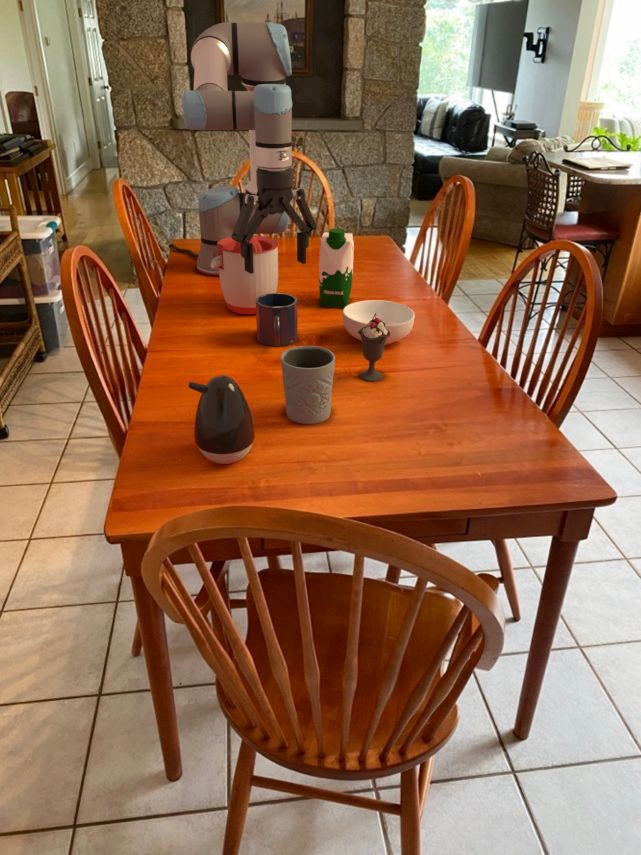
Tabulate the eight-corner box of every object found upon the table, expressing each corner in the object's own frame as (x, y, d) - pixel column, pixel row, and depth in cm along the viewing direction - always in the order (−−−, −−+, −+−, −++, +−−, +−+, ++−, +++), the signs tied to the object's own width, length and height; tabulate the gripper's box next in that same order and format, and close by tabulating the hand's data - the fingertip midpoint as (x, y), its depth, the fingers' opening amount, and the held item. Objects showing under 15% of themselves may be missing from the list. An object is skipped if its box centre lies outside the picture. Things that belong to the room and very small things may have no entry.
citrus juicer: (209, 301, 179) (203, 225, 169) (271, 294, 184) (269, 221, 173) (220, 322, 166) (214, 242, 156) (286, 315, 171) (285, 237, 161)
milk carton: (317, 308, 176) (318, 232, 165) (320, 296, 183) (321, 223, 173) (350, 310, 175) (353, 233, 165) (352, 298, 183) (355, 224, 172)
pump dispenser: (197, 440, 119) (190, 363, 111) (255, 438, 120) (252, 362, 112) (192, 473, 111) (184, 392, 103) (255, 471, 111) (252, 391, 104)
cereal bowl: (426, 339, 159) (429, 311, 156) (383, 360, 149) (385, 331, 145) (371, 320, 169) (373, 293, 165) (327, 339, 159) (327, 311, 155)
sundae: (366, 385, 138) (370, 318, 131) (350, 372, 143) (353, 307, 136) (392, 379, 141) (398, 313, 133) (376, 367, 146) (380, 302, 138)
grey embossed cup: (315, 431, 122) (316, 373, 116) (270, 416, 127) (269, 359, 121) (343, 409, 130) (345, 353, 124) (300, 395, 134) (300, 340, 128)
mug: (257, 330, 163) (256, 292, 158) (296, 329, 163) (296, 292, 158) (256, 353, 151) (254, 313, 146) (298, 352, 152) (298, 313, 147)
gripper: (228, 176, 130) (233, 281, 141) (333, 165, 142) (331, 262, 153) (211, 169, 135) (218, 271, 147) (314, 159, 147) (313, 254, 158)
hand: (275, 267), depth 150 cm, fingers open, 13 cm apart
